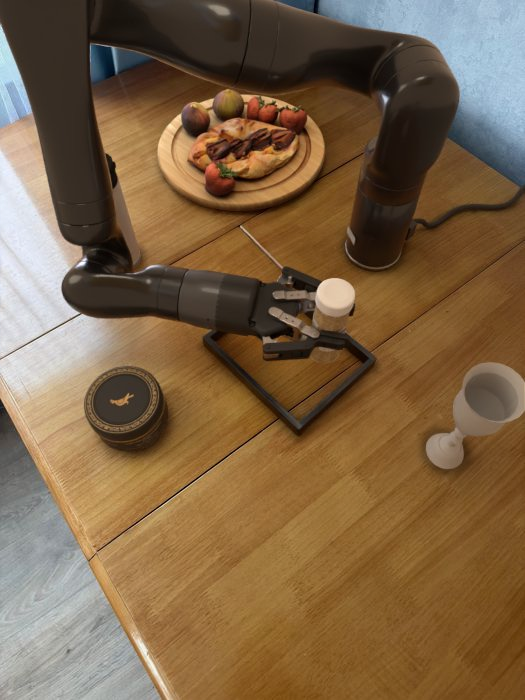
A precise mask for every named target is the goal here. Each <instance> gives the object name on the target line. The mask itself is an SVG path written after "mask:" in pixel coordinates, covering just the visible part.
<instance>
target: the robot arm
mask: <svg viewBox="0 0 525 700" xmlns="http://www.w3.org/2000/svg"><path fill="white" fill-rule="evenodd" d="M0 28H1V30H2V32H3V34H4V38H5V40H6V42H7V45H8V48H9V50H10V53H11V55H12V58H13V59H14V62H15V65H16V67H17V70H18V73H19V75H20V79H21V81H22V84H23V87H24V90H25V94H26V96H27V100H28V103H29V106H30V109H31V113H32V116H33V119H34V123H35V128H36V132H37V136H38V140H39V146H40V149H41V154H42V155H41V156H42V159H43V165H44V169H45V174H46V178H47V179H46V180H47V183H48V189H49V192H50V197H51V202H52V206H53V210H54V215H55V219H56V223H57V227H58V230H59V232H60V235H61V236H62V238H63V239H64V240H65V241H66V242H67V243H69V244H71V245H73V246H77V247H81V253H82V256H81V258H79V260H77V262H76V263H75V264H74V265H73V266H72V267H70V269H69V270H68V271H67V272H66V273H65V275H64V276H63V278H62V280H61V287H60V290H61V295H62V298H63V299H64V301H65V302H66V304H67V305H68V306H69V307H70V308H71V309H73V310H74V311H75V312H77V313H79V314H81V315H84V316H87V317H89V318H95V319H101V320H112V319H113V320H115V319H116V320H117V319H136V318H138V319H139V318H145V317H153V318H157V319H162V320H167V321H172V322H178V323H183V324H186V325H190V326H192V327H196V328H198V329H205V330H209V331H211V330H215V331H221V332H226V333H227V334H232V335H237V336H241V337H242V336H243V337H250V336H251V337H255V338H257V339H258V340H259V341H260V342H261V341H262V360H263V361H264V362H280V361H291V360H292V361H295V360H306V359H309V358H311V357H310V354H311V353H312V351H313V350H314V348H316V347H323V348H328V349H334V350H340V351H343V350H344V349H346V348H348V346H349V343H350V338H351V337H352V335H350V334H349V333H347V334H343V333H337V332H332V331H326V330H321V333H320V332H319V331H318V330H316V329H314V328H312V327H311V326H310V325H307V324H306V323H305V322H304V320H302V319H300V318H298V315H300V314H301V315H302V314H303V315H304V313H306V312H307V311H315V306H316V302H315V298H316V292H317V289H318V286H319V285H320V284H321V283H322V282H323V281H324V280H320V279H318V278H316V277H314V276H312V275H309V274H307V273H306V272H305V273H304V272H302V271H300V270H297V269H295V268H293V267H291V266H288V265H286V266H283V267H282V268H281V274H280V276H279V277H278V279H277V280H276V281H277V282H276V281H271V282H263V281H261V280H260V279H258V278H257V277H252V276H251V277H250V276H245V275H239V274H234V273H232V274H231V273H229V272H228V273H227V272H222V271H216V270H215V271H214V270H211V269H197V268H196V269H194V268H187V267H181V266H175V265H170V264H163V263H152V264H149V265H148V266H146V267H144V268H143V269H141V270H139V271H137V272H134V270H133V260H132V255H131V252H130V250H129V247H128V245H127V242H126V240H125V238H124V235H123V233H122V230H121V228H120V226H119V224H118V222H117V216H116V208H115V202H114V195H113V189H112V183H111V178H110V172H109V168H108V163H107V159H106V155H105V153H106V151H105V147H104V143H103V139H102V135H101V133H100V132H101V131H100V127H99V123H98V119H97V114H96V108H95V107H96V106H95V101H94V93H93V81H92V68H91V66H92V65H91V64H92V63H91V45H97V46H102V47H103V46H104V47H108V48H109V47H110V48H116V49H122V50H125V51H126V50H127V51H131V52H134V53H137V54H141V55H144V56H146V57H150V58H152V59H155V60H157V61H158V62H161V63H163V64H165V65H168V66H171V67H172V68H175V69H176V70H179V71H181V72H184V73H186V74H189V75H191V76H192V77H196V78H199V79H201V80H204V81H206V82H210V83H212V84H215V85H218V86H220V87H221V86H222V87H225V88H228V89H232V90H238V91H242V92H248V93H251V94H254V95H260V96H267V97H278V96H285V95H291V94H295V93H299V92H303V91H306V90H309V89H313V88H314V89H315V88H320V87H331V88H338V89H341V90H346V91H348V92H349V91H350V92H352V93H356V94H359V95H362V96H364V97H366V98H369V99H370V100H372V101H373V102H374V103H375V106H376V108H377V112H378V114H379V116H380V124H379V130H378V134H377V135H375V136H373V137H372V138H371V139H370V140H368V142H367V144H366V145H365V147H364V149H363V155H362V158H361V163H360V169H359V175H358V179H357V185H356V190H355V195H354V200H353V205H352V209H351V210H352V211H351V215H350V220H349V225H347V229H346V233H347V235H346V239H345V241H344V252H345V255H346V257H347V258H348V260H349V261H350V262H351V263H352V264H353V265H355V266H357V267H358V268H360V269H362V270H366V271H373V272H378V271H384V270H388V269H390V268H392V267H394V266H395V265H396V264H397V262H398V261H399V260H400V258H401V254H402V249H403V247H404V245H405V242H408V241H409V240H411V238H413V237H414V236H415V233H416V229H417V227H418V224H419V225H421V226H423V227H424V228H427V229H431V228H435V227H437V226H439V225H441V224H442V223H444V221H446V220H448V219H449V218H450V217H452V216H453V215H454V214H457V213H459V212H462V211H466V210H490V211H491V210H501V209H506V208H508V207H511V206H512V205H514V204H515V203H516V202H517V201H518V200H519V199H520V198H521V197H522V196H523V194H524V193H525V184H523V185H522V186H521V187H520V188H519V189H518V191H517V192H516V193H515V194H514V196H513V197H511V199H509V200H508V201H506V202H501V203H495V204H494V203H493V204H490V203H489V204H488V203H487V204H486V203H466V204H462V205H458V206H456V207H454V208H452V209H450V210H448V211H447V212H445V213H444V214H443V215H442V216H441V217H439V218H437V219H436V220H434V221H431V222H428V221H427V220H426V219H424V218H414V216H415V213H416V209H417V206H418V203H419V199H420V195H421V193H422V190H423V187H424V184H425V182H426V178H427V175H428V172H429V170H430V169H431V168H432V167H433V166H434V165H435V164H436V162H437V161H438V159H439V157H440V155H441V153H442V150H443V149H444V147H445V143H446V141H447V138H448V136H449V133H450V131H451V128H452V127H453V124H454V121H455V118H456V115H457V113H458V109H459V105H460V96H461V92H460V86H459V83H458V81H457V79H456V77H455V75H454V73H453V71H452V69H451V68H450V66H449V64H448V62H447V60H446V59H445V57H444V55H443V53H442V52H441V50H440V49H439V48H438V46H437V45H436V44H434V43H433V42H432V41H430V40H429V39H427V38H425V37H422V36H419V35H414V34H410V33H409V34H407V33H402V32H395V31H389V30H382V29H375V28H370V27H365V26H364V27H363V26H358V25H355V24H354V25H353V24H349V23H346V22H342V21H338V20H336V19H334V18H331V17H328V16H324V15H321V14H318V13H314V12H311V11H309V10H304V9H301V8H297V7H294V6H291V5H288V4H286V3H283V2H280V1H277V0H0ZM285 287H286V288H285ZM287 288H288V289H291V288H293V289H294V290H295V291H289V290H288V289H287ZM300 301H301V302H300ZM355 310H356V303H355V302H354V304H353V307H352V309H351V311H350V313H349V317H348V318H350V317H353V316H354V314H355ZM280 337H283V338H285V339H288V340H289V341H279V340H278V339H277V338H280Z"/></svg>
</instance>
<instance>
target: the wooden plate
mask: <svg viewBox="0 0 525 700" xmlns="http://www.w3.org/2000/svg"><path fill="white" fill-rule="evenodd" d="M301 107H302V105H298V106H297V107H296V106H294V105H293V104H290V103H288V102H286V101H283V100H280V99H277V98H275V97H271V96H266V95H260V94H240V93H239V91H236V89H232V88H226V89H224V90H221V91H220V92H218V93H217V94H216V95H215V96H214V98H209V99H206V100H203V101H201V102H196V101H193V102H189V103H187V104H186V105H185V106H184V107H183V108H182V111H181V113H179V114H177V116H176V117H175V118H173V119H172V120H171V121H170V123H169V124H168V125H167V126H166V127H165V128H164V130H163V132H162V134H161V135H160V138H159V140H158V144H157V149H156V152H157V153H156V156H157V157H156V158H157V164H158V168H159V171H160V172H161V174H162V176H163V178H164V180H165V181H166V182H167V183H168V185H169V186H170V187H171V188H172V189H173V190H174V191H176V192H177V193H178V194H180V195H181V196H182V197H184V198H186V199H188V200H189V201H191V202H193V203H195V204H198V205H200V206H204V207H206V208H211V209H215V210H220V211H227V212H228V211H229V212H249V211H258V210H263V209H264V210H265V209H268V208H269V209H270V208H272V207H275V206H279V205H281V204H283V203H286V202H288V201H290V200H292V199H294V198H297V196H300V195H301V194H302V193H303V192H305V191H306V190H307V189H308V188H309V187H310V186H311V185H313V183H314V182H315V181H316V179H317V178H318V177H319V175H320V174H321V172H322V169H323V166H324V164H325V160H326V153H327V152H326V151H327V150H326V142H325V139H324V135H323V133H322V130H321V129H320V127H319V126H318V124H317V123H316V122H315V121H314V120H313V119H312V117H310V116H309V115H308V113H307V111H306V110H305V108H301Z"/></svg>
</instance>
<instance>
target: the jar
mask: <svg viewBox="0 0 525 700" xmlns="http://www.w3.org/2000/svg"><path fill="white" fill-rule="evenodd" d="M83 410H84V415H85V418H86V420H87V422H88V424H89V426H90V427H91V429H92V430H93V432H94V433H95V434H96V435H97V436H98V437H99V438H100V440H101V441H102V442H103V443H104V444H105V445H106V446H108V447H109V448H111V449H113V450H115V451H119V452H123V453H137V452H141V451H144V450H146V449H148V448H150V447H152V446H153V445H154V444H155V443H157V441H158V440H160V438H161V437H162V436H163V434H164V432H165V430H166V427H167V424H168V419H169V410H168V405H167V402H166V399H165V393H164V391H163V389H162V387H161V385H160V383H159V381H158V380H157V378H155V376H154V375H153V374H152V373H151V372H149V371H147V370H146V369H144V368H141V367H138V366H132V365H121V366H116V367H113V368H110V369H108V370H106V371H104V372H102V373H101V374H99V375H98V376H97V377H96V378H95V379H94V380H93V382H92V383H91V384H90V385H89V387H88V389H87V391H86V393H85V396H84V400H83Z"/></svg>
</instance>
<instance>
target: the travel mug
mask: <svg viewBox="0 0 525 700" xmlns="http://www.w3.org/2000/svg"><path fill="white" fill-rule="evenodd" d="M105 155H106V159H107V163H108V168H109V172H110V178H111V183H112V189H113V195H114V202H115V208H116V216H117V222H118V224H119V226H120V228H121V230H122V233H123V235H124V238H125V240H126V242H127V245H128V247H129V250H130V252H131V255H132V260H133V271H134V270H135V269H137V268H138V266H139V265H140V263H141V261H142V254H141V251H140V247H139V244H138V240H137V237H136V234H135V230H134V226H133V224H132V220H131V216H130V213H129V210H128V206H127V202H126V200H125V199H126V198H125V196H124V193H123V190H122V186H121V183H120V180H119V176H118V174H117V172H116V169H117V164H116V161H114V159H113V158H112V156H111V155H110V154H109V153H106V152H105Z"/></svg>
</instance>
